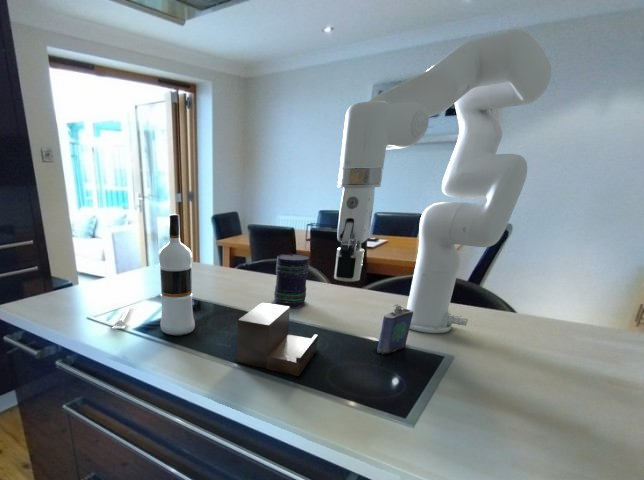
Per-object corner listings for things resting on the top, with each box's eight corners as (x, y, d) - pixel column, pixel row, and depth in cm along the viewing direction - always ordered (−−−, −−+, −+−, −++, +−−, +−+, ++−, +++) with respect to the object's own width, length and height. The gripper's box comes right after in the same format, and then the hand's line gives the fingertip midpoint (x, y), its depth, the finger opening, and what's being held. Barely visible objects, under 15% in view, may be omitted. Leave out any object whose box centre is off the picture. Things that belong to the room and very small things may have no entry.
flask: (384, 355, 89) (392, 310, 84) (372, 350, 91) (380, 307, 87) (408, 346, 93) (417, 303, 89) (397, 342, 95) (405, 300, 91)
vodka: (154, 333, 103) (147, 215, 91) (171, 322, 111) (167, 212, 99) (184, 339, 99) (181, 216, 88) (200, 327, 107) (199, 213, 95)
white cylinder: (361, 276, 81) (365, 247, 79) (357, 282, 77) (361, 252, 75) (336, 274, 83) (340, 246, 81) (331, 279, 79) (334, 250, 77)
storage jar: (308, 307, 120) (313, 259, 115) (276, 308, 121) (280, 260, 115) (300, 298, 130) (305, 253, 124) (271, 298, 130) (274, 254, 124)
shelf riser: (316, 351, 91) (320, 311, 87) (298, 376, 80) (303, 331, 76) (259, 340, 98) (261, 302, 94) (236, 361, 87) (237, 319, 83)
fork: (135, 309, 122) (134, 303, 121) (121, 333, 103) (121, 326, 103) (124, 309, 122) (124, 303, 121) (109, 333, 103) (108, 326, 103)
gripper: (375, 180, 64) (359, 286, 71) (386, 177, 78) (372, 267, 85) (328, 180, 68) (318, 282, 75) (347, 178, 81) (337, 264, 88)
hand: (347, 273), depth 80 cm, fingers closed on white cylinder, 5 cm apart
